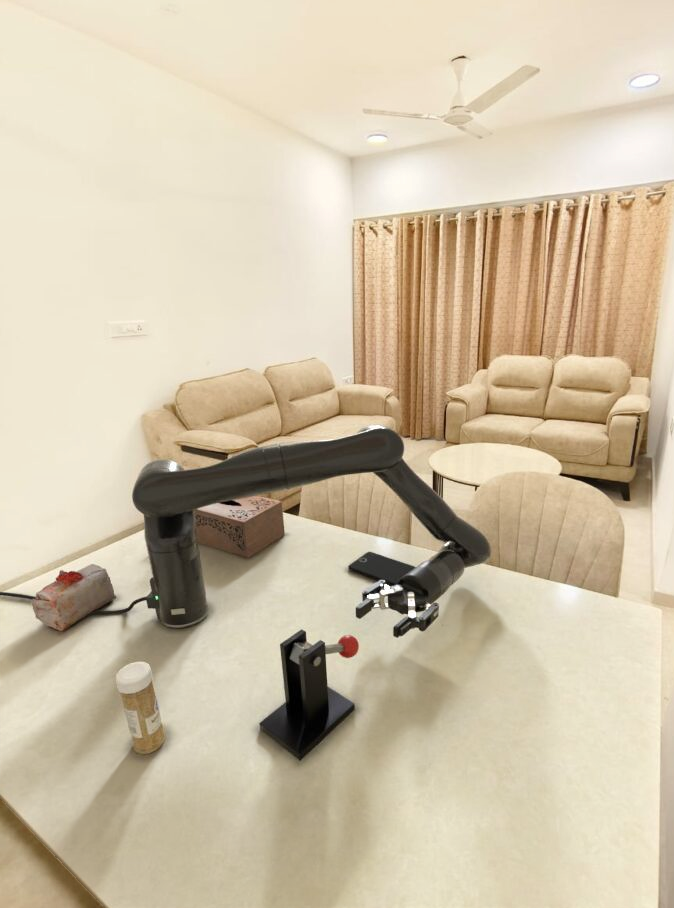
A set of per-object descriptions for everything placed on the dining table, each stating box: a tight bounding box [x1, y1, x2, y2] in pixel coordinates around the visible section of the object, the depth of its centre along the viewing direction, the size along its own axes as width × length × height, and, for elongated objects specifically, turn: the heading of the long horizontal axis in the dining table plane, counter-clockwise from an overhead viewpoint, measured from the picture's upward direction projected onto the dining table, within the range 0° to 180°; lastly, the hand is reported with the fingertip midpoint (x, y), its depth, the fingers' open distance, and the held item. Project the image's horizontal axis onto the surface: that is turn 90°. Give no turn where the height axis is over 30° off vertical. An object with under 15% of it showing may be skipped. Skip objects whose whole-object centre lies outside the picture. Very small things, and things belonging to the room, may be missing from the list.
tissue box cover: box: [194, 495, 286, 559], centre depth 135 cm, size 26×14×10 cm, turn 61°
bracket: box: [258, 629, 356, 762], centre depth 76 cm, size 12×9×15 cm
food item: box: [29, 563, 117, 632], centre depth 103 cm, size 14×8×10 cm, turn 154°
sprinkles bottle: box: [115, 661, 166, 755], centre depth 73 cm, size 5×5×14 cm
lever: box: [290, 634, 360, 664], centre depth 78 cm, size 14×4×4 cm, turn 142°
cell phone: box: [347, 551, 417, 586], centre depth 118 cm, size 9×18×1 cm, turn 55°
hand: (375, 623), depth 88 cm, fingers open, 8 cm apart
